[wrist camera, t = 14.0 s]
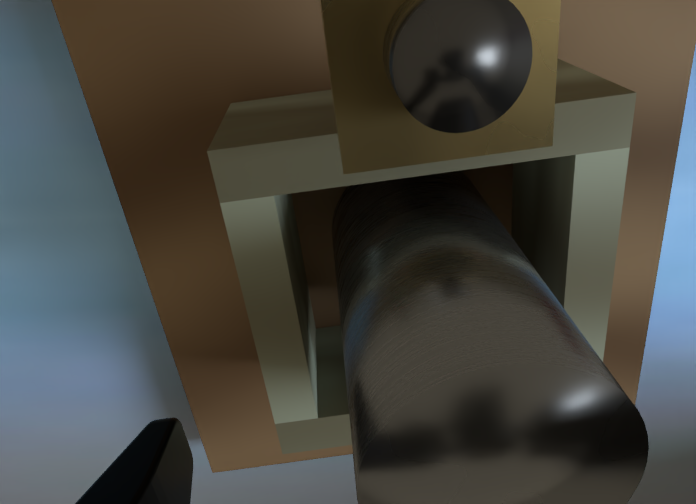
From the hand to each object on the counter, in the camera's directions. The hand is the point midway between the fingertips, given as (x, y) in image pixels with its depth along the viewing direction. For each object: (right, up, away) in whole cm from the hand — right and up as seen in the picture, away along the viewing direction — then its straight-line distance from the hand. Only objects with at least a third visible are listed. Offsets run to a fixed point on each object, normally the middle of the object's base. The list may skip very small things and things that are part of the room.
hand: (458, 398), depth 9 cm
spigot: (0, +3, +6) cm, 6 cm away
